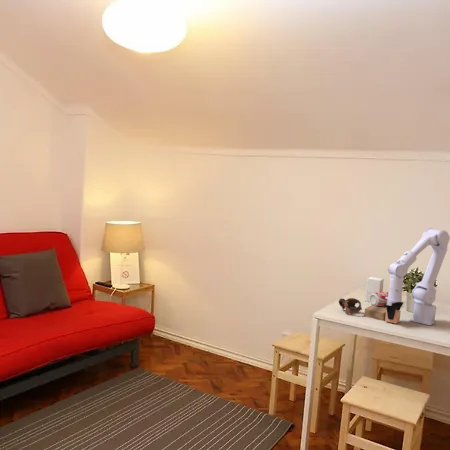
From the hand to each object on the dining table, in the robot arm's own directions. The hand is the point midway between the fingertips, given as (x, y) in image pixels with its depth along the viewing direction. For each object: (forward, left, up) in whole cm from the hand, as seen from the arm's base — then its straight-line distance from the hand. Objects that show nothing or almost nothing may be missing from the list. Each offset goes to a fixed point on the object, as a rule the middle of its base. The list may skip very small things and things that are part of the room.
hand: (392, 318), depth 219 cm
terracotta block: (0, 0, -1) cm, 1 cm away
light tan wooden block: (+9, -3, -2) cm, 10 cm away
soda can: (+18, -21, +1) cm, 27 cm away
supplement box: (+21, -32, -2) cm, 38 cm away
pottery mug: (+21, +1, -2) cm, 21 cm away
